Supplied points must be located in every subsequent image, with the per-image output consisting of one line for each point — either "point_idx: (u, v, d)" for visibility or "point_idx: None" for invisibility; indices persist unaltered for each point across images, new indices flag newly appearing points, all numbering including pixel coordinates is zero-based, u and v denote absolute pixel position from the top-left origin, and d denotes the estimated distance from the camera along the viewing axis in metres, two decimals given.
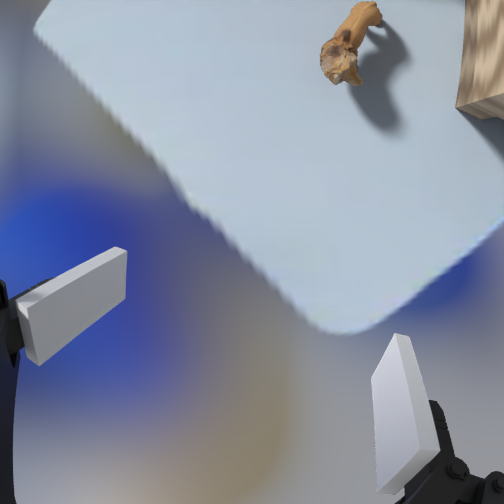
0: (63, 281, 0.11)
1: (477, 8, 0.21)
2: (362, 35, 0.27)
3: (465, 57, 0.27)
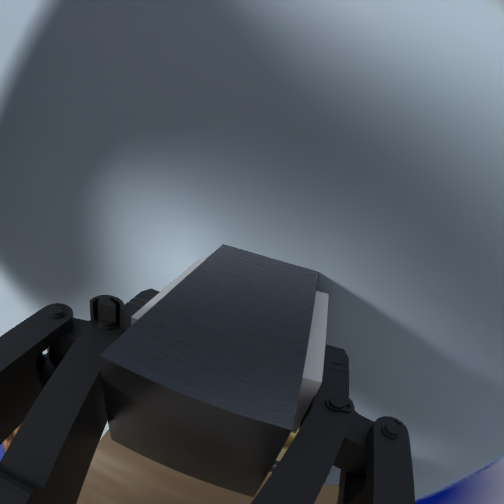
0: None
1: None
2: None
3: None
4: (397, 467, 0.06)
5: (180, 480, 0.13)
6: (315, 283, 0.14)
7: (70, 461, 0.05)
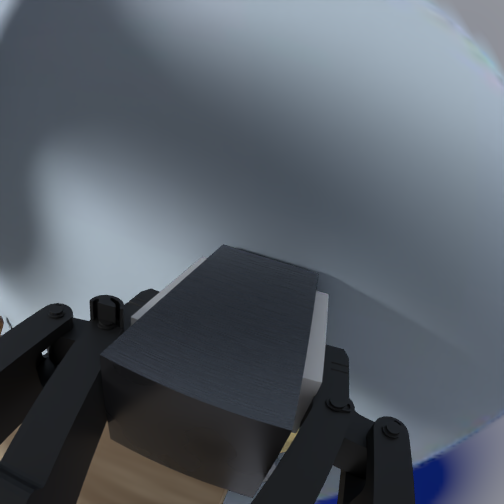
0: None
1: None
2: None
3: None
4: (397, 467, 0.06)
5: None
6: (315, 284, 0.14)
7: (70, 461, 0.05)
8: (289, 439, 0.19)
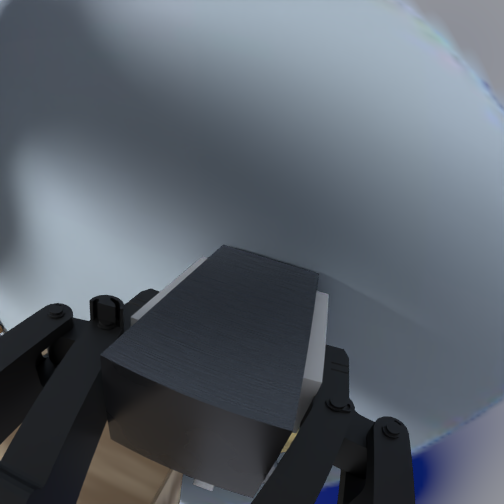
0: None
1: None
2: None
3: None
4: (397, 467, 0.06)
5: None
6: (315, 284, 0.14)
7: (70, 461, 0.05)
8: (289, 439, 0.19)
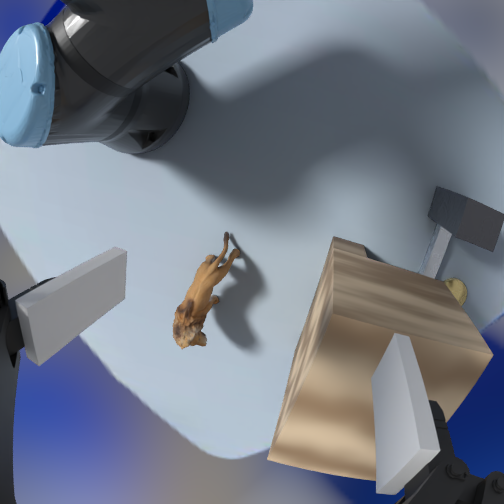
0: (63, 281, 0.11)
1: (323, 278, 0.36)
2: (206, 300, 0.39)
3: (308, 314, 0.41)
4: None
5: (377, 267, 0.31)
6: None
7: None
8: (462, 288, 0.35)
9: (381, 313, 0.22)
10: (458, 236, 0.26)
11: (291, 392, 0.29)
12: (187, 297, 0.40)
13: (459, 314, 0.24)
